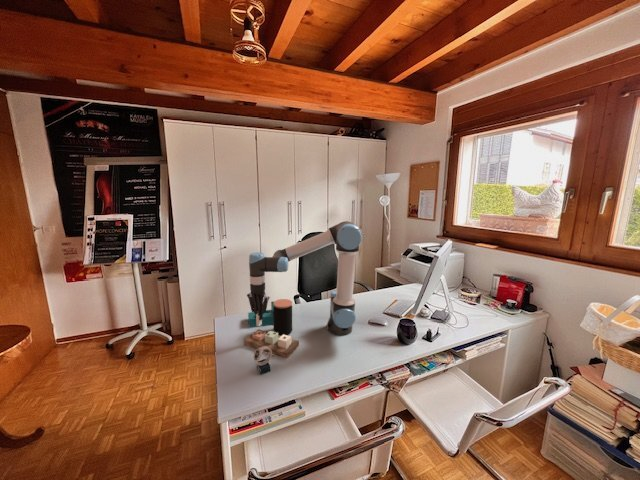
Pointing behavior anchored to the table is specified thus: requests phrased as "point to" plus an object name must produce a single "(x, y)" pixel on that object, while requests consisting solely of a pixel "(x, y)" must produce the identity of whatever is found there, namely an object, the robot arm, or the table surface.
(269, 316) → the teal l-shaped bracket
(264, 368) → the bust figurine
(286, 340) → the die
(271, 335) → the die
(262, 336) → the die
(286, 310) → the coffee jar
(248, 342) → the wooden dice tray
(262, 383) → the table surface
